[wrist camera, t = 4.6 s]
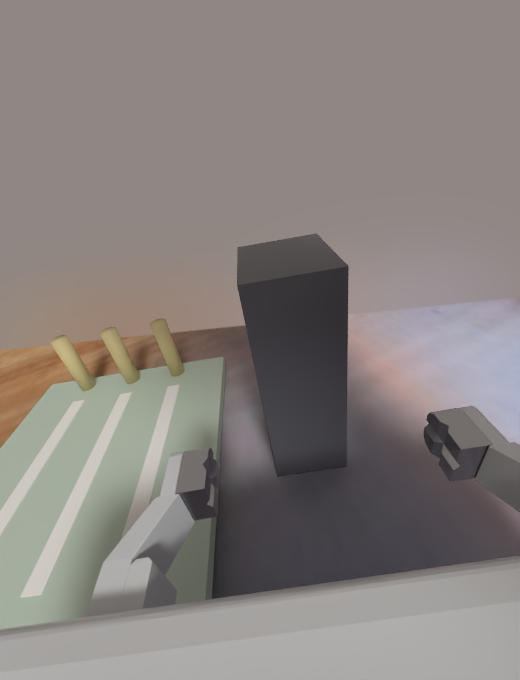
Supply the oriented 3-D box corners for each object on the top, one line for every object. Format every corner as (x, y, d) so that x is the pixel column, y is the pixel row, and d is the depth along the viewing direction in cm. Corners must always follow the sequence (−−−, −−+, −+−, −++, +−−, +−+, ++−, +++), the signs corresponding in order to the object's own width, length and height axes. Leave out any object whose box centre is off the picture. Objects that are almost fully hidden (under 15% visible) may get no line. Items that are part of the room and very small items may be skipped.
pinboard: (225, 365, 27) (209, 307, 23) (209, 641, 12) (156, 586, 8) (58, 392, 27) (19, 339, 24) (-169, 691, 12) (-357, 657, 9)
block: (323, 401, 21) (315, 232, 15) (346, 466, 17) (348, 266, 10) (269, 409, 21) (237, 246, 15) (277, 476, 17) (237, 285, 10)
